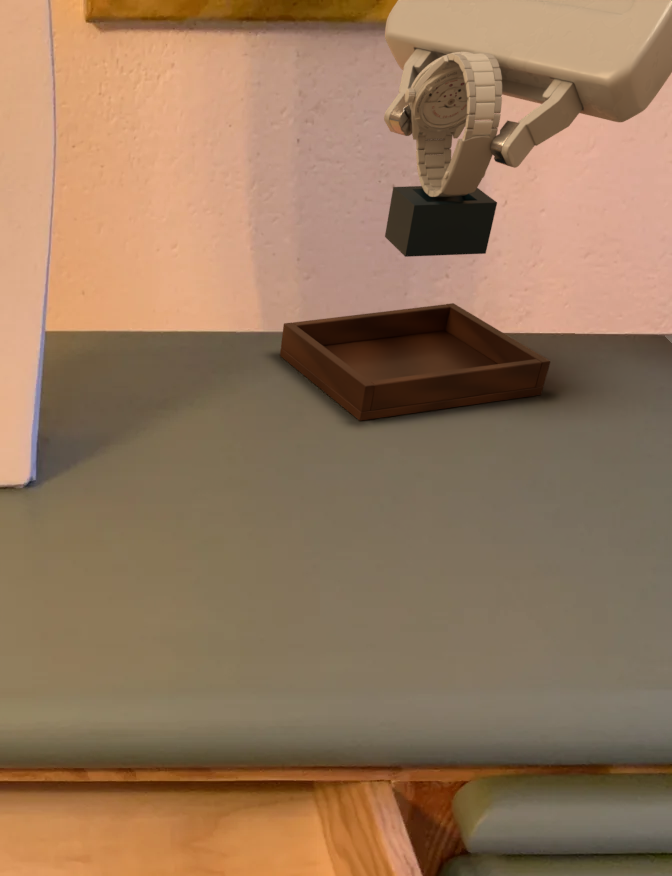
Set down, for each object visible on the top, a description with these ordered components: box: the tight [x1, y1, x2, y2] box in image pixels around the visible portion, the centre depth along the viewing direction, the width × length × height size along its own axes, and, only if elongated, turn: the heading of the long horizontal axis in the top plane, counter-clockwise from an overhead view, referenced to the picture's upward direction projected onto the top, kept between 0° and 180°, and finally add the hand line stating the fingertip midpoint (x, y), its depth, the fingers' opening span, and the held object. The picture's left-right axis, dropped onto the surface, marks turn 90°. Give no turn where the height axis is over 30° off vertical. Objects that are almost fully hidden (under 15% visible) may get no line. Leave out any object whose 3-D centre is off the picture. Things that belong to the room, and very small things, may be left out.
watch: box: [384, 52, 503, 258], centre depth 74 cm, size 6×8×11 cm
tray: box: [279, 302, 551, 422], centre depth 83 cm, size 14×12×2 cm
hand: (445, 142), depth 73 cm, fingers closed on watch, 8 cm apart
